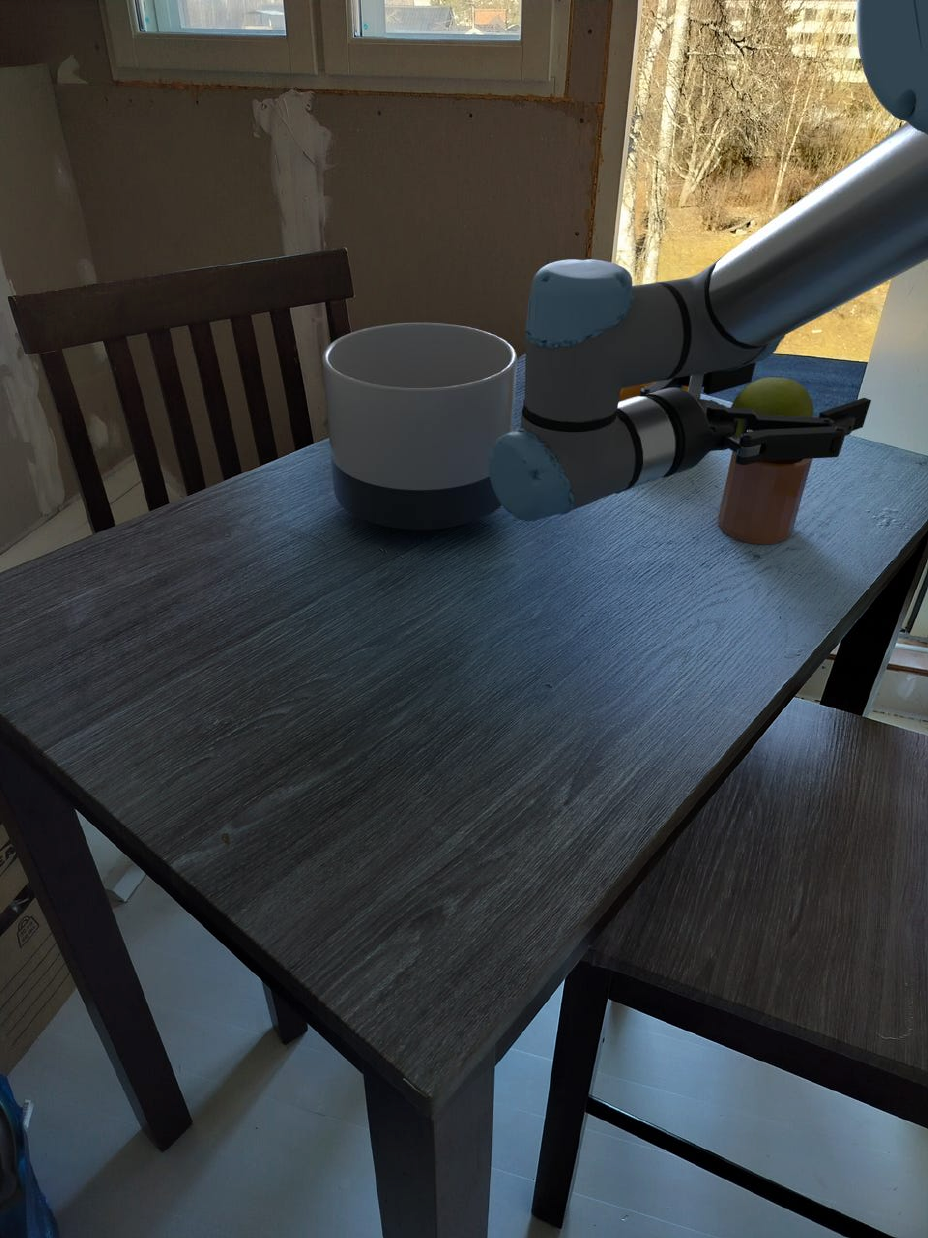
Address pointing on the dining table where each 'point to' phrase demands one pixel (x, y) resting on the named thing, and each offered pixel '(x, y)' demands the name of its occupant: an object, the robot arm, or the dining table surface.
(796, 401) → the apple
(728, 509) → the cup
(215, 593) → the dining table surface
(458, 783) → the dining table surface
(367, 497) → the planter
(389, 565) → the dining table surface
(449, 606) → the dining table surface
